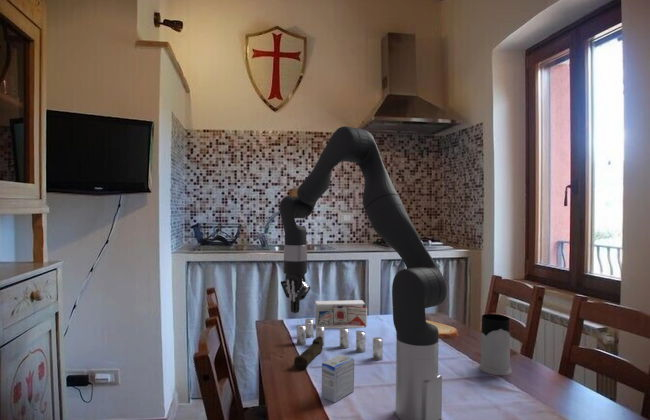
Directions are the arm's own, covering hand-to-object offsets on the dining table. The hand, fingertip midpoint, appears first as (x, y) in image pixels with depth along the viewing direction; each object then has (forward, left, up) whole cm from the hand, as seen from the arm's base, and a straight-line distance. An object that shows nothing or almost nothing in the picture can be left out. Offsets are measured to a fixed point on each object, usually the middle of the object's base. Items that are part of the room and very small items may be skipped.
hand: (294, 312), depth 132 cm
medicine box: (-31, +11, -13) cm, 35 cm away
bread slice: (-17, -50, -13) cm, 55 cm away
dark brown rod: (-8, 0, -13) cm, 15 cm away
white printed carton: (+9, -31, -13) cm, 35 cm away
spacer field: (-7, -11, -12) cm, 18 cm away
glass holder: (-48, -36, -13) cm, 61 cm away
